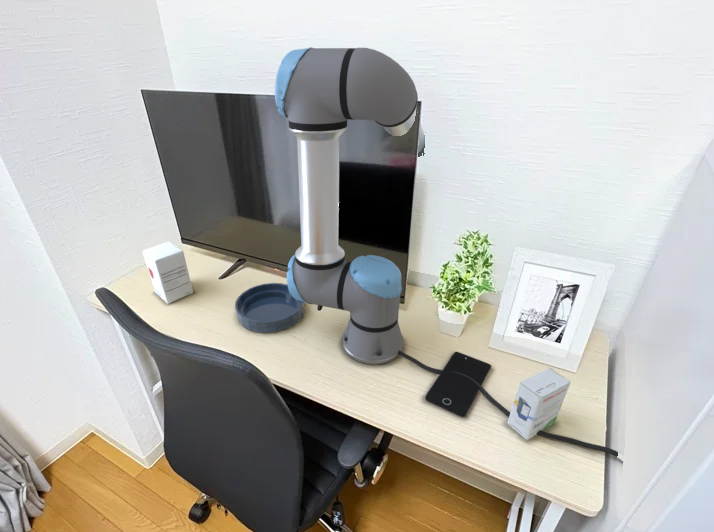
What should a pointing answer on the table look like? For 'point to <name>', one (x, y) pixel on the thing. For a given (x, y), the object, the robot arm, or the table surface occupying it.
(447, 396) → the cell phone
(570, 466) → the table surface
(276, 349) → the table surface
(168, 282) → the rectangular carton
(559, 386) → the ink box
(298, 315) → the bowl
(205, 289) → the table surface
